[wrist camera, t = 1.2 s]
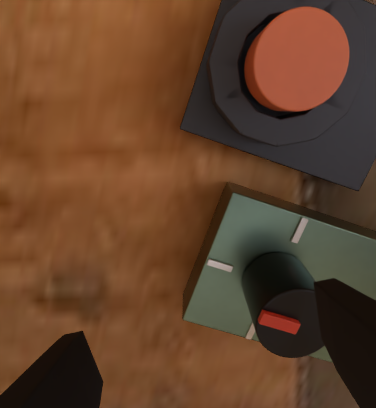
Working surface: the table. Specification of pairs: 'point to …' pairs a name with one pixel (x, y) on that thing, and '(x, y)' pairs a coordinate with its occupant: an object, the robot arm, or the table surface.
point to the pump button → (297, 60)
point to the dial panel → (264, 244)
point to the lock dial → (283, 305)
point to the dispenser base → (286, 120)
